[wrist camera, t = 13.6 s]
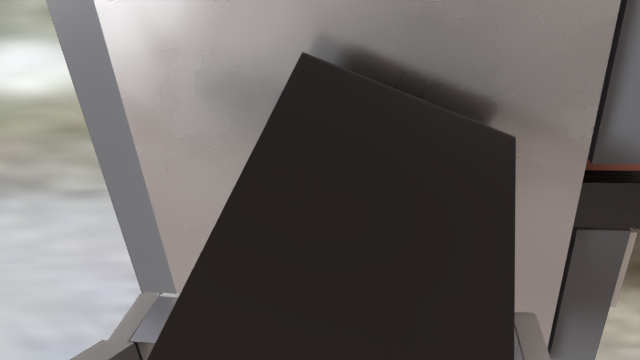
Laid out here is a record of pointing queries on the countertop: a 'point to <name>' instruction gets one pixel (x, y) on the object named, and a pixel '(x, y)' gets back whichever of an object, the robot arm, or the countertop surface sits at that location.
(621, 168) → the red small block
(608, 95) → the scale housing
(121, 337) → the robot arm
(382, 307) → the phone stand
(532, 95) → the pan
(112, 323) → the countertop surface
